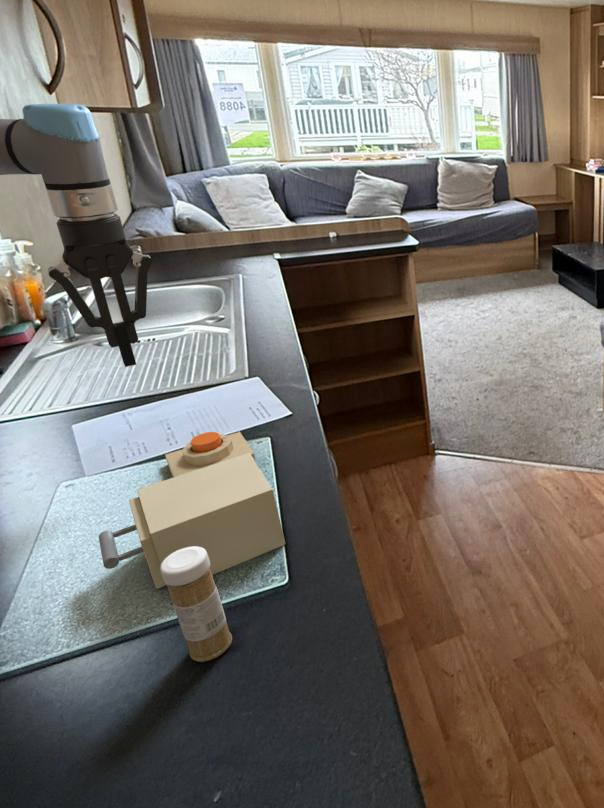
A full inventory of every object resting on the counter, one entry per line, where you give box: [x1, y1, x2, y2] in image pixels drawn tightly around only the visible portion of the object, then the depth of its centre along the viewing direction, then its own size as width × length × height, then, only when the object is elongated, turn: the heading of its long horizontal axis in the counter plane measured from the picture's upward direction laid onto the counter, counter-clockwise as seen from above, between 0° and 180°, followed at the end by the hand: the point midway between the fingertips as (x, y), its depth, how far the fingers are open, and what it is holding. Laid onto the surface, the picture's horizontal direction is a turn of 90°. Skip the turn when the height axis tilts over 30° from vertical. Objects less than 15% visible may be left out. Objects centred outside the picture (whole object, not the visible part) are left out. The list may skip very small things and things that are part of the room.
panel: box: [164, 431, 258, 478], centre depth 113 cm, size 12×10×4 cm
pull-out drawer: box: [98, 496, 167, 590], centre depth 90 cm, size 18×11×8 cm, turn 130°
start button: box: [190, 431, 222, 453], centre depth 112 cm, size 4×4×2 cm
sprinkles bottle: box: [160, 546, 233, 663], centre depth 75 cm, size 5×5×14 cm
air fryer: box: [136, 453, 286, 591], centre depth 93 cm, size 15×13×10 cm
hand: (129, 362), depth 103 cm, fingers closed
